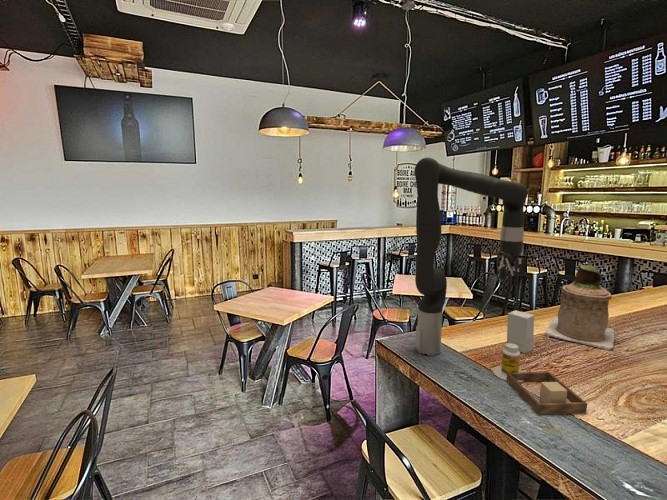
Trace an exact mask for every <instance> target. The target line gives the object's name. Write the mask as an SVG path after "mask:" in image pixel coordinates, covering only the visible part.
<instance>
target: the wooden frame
mask: <svg viewBox="0 0 667 500" xmlns="http://www.w3.org/2000/svg"><path fill="white" fill-rule="evenodd" d="M517 380H524V382H523V383H526V382H527V383H528V382H531V383H532V382H558V383H559V384H560V385H561V386H562V387H564V388H565V389H566V390H567V398H566V400H568V401H569V402H566V403H542V402H540V401H538V400H537V399H536V398H535V397H534V396H533V395H532V394H531V393H530V392H529V391H528V390H527V389H526V388H525V387H524V386H523V385H522V384H521V383H519V382H518V381H517ZM506 382H507V383H508V382H509V383H508V385H509V386H512V387H513V388H514V389H515V390H516V391H517V392H518V393H519V394H520V395H519V394H518V393H517V392H516V391H515V390H514V389H513V388H512V387H511V388H512V389H513V390H514V391H515V392H516V393H517V394H518V395H519V396H520V398H522V400H523V401H524V402H525V403H526V402H527V403H528V404H529V405H530V406H531V407H532V408H531V407H530V406H529V405H528V404H527V403H526V404H527V405H528V406H529V407H530V408H531V409H532V410H533V411H534V412H535V413H536V414H537V415H563V414H566V415H567V414H587V409H588V403H587V402H586V401H585V400H584V399H582V398H581V397H580V396H579V395H577V394H576V393H575V391H573V390H572V389H571V388H569V387H568V386H567V385H566V384H564V383H563V382H562V381H561V380H560V379H559V378H557V377H556V376H555V375H554V374H552V373H551V372H550V371H534V372H533V371H531V372H528V371H527V372H525V371H524V372H521V373H507V381H506ZM551 413H552V414H551ZM553 413H555V414H553ZM556 413H557V414H556ZM558 413H559V414H558Z"/></svg>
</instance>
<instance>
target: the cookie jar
mask: <svg viewBox="0 0 667 500" xmlns="http://www.w3.org/2000/svg"><path fill="white" fill-rule="evenodd" d="M601 281H602V274H601V272H600V271H599V270H598V268H597V267H595V266H594V265H588V264H587V265H585V264H584V265H583V264H581V263H578V269H577V272H575V280H574V281H573V282H571V283H570V284H565V285H563V286H562V287H561V292H560V298H559V302H560V306H559V309H558V310H557V317H556V316H553V317H552V319H551V320H550V322H549V324H548V326H547V329H546V330H544V333H545V335H546V337H547V338H549V337H552V338H556V339H560V340H563V341H568V342H574V343H578V344H582V345H587V346H590V347H594V348H597V349H600V348H601V350H604V349H605V351H611V349H613V348H614V341H615V330H614V329H613V328H609V327H608V325H609V317H610V315H609V303H610V300H611V299H612V297H613V296H612V294H611V292H610V291H608V290H607V289H606V288H604V287H603V286H601V285H599V284H600V283H601Z"/></svg>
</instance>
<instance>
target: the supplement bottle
mask: <svg viewBox="0 0 667 500" xmlns="http://www.w3.org/2000/svg"><path fill="white" fill-rule="evenodd" d="M520 358H521V352H520V351H518V346H517V345H516V344H512V343H507V342H506V344H505V347H504V348H503V349H502V355H501V364H500V365H501V371H502V372H503V373H504V374H506V375H507V373H518V371H519V369H520V361H521V360H520Z"/></svg>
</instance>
